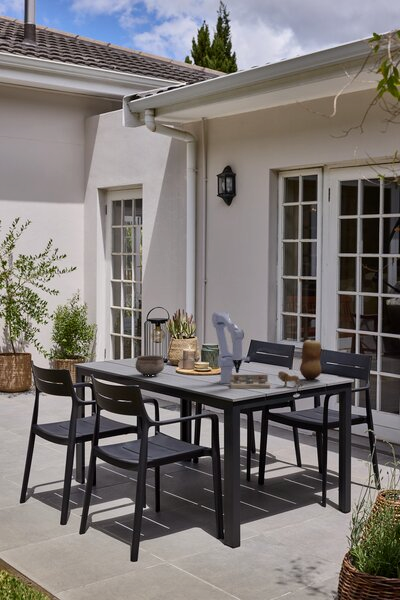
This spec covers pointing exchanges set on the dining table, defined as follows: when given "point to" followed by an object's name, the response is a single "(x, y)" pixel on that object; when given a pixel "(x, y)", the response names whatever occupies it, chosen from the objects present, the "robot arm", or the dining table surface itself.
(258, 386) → the button board
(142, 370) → the brown footed bowl
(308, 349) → the butternut squash
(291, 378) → the lion figurine
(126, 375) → the dining table surface
